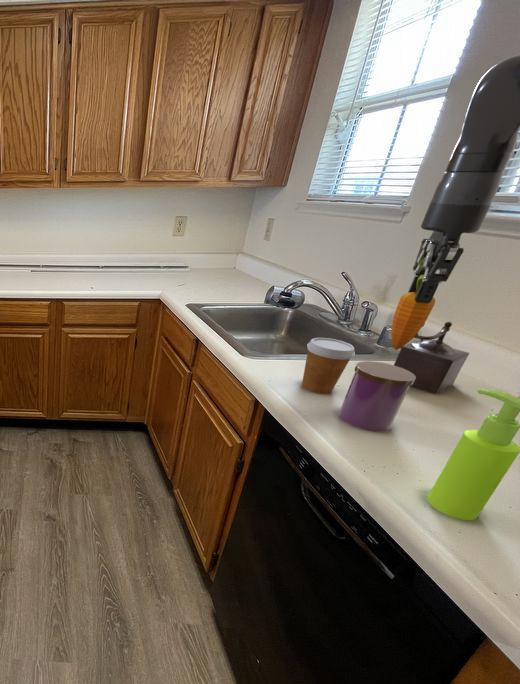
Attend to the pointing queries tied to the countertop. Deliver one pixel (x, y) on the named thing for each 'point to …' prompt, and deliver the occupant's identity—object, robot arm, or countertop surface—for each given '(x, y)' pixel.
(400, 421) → the countertop surface
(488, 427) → the soap dispenser
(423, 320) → the carrot
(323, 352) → the disposable coffee cup
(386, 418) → the jar
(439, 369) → the brown manual coffee grinder
